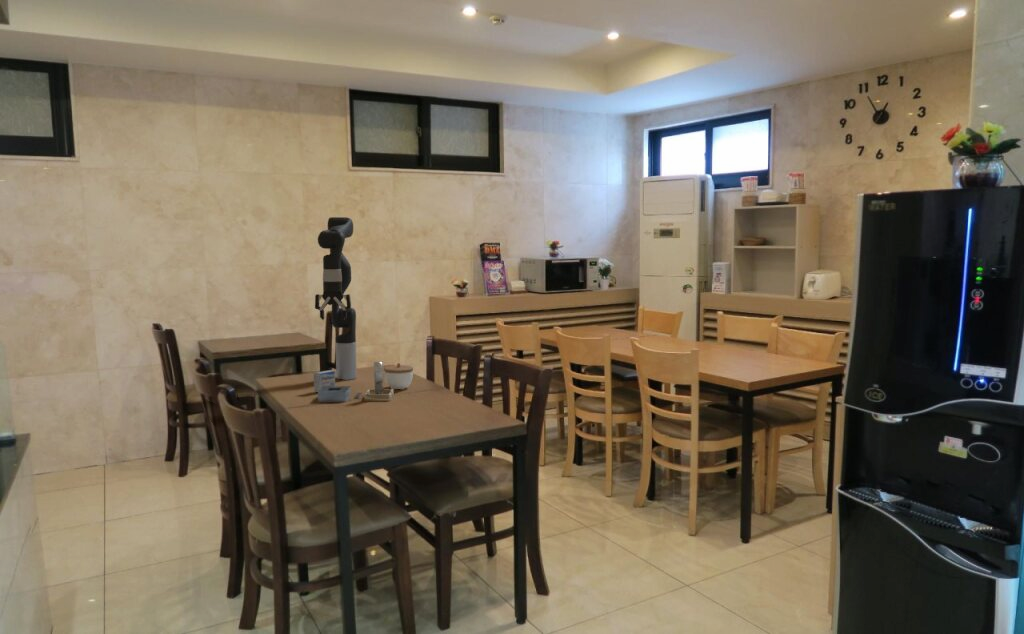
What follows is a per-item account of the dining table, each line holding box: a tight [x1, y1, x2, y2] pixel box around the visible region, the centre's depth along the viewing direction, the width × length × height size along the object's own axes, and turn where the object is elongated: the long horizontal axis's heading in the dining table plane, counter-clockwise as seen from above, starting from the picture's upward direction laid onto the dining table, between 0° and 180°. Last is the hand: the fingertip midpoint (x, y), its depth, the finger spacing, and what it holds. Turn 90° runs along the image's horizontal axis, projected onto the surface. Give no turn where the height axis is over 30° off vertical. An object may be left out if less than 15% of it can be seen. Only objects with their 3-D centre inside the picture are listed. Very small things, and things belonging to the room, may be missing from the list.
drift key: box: [354, 392, 363, 399], centre depth 281 cm, size 7×2×1 cm, turn 3°
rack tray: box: [363, 388, 395, 402], centre depth 278 cm, size 10×10×2 cm
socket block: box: [317, 385, 352, 403], centre depth 276 cm, size 11×11×4 cm
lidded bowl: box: [383, 362, 414, 390], centre depth 297 cm, size 13×13×11 cm
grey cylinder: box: [373, 361, 384, 394], centre depth 278 cm, size 4×4×14 cm
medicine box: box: [313, 369, 336, 393], centre depth 290 cm, size 8×4×9 cm, turn 143°
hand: (333, 319), depth 279 cm, fingers open, 8 cm apart
